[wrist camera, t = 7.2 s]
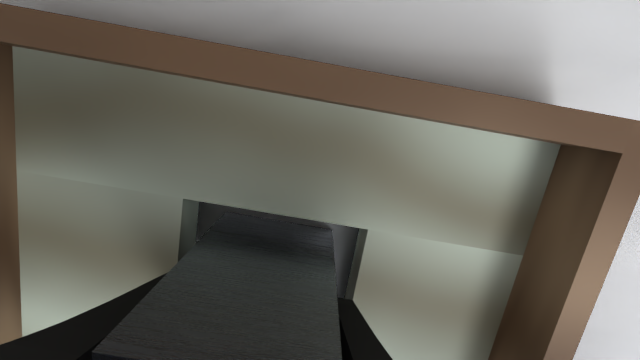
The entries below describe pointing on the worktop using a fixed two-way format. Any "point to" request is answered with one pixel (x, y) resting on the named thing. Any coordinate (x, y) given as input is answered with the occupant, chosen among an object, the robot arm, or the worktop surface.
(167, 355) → the charcoal peg
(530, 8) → the worktop surface
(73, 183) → the walnut box
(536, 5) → the worktop surface
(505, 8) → the worktop surface
